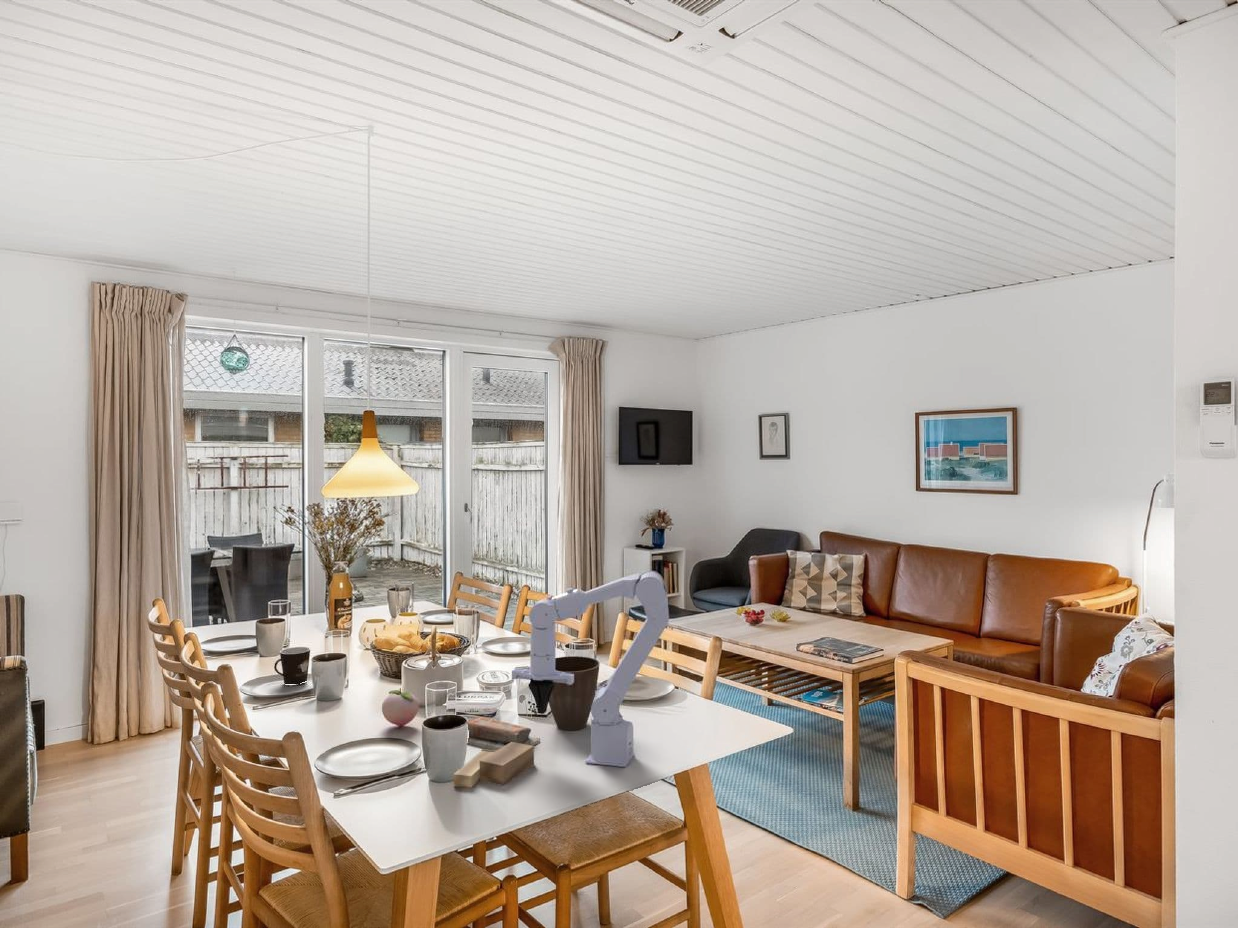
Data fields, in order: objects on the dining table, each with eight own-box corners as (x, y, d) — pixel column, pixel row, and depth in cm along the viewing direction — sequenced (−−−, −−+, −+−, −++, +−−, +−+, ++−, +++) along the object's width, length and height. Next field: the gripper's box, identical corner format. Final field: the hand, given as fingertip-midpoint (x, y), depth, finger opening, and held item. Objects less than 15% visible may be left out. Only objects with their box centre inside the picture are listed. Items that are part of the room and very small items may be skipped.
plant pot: (544, 738, 188) (544, 673, 188) (538, 718, 203) (538, 657, 203) (605, 733, 191) (604, 669, 191) (594, 713, 206) (594, 654, 206)
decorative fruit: (374, 729, 195) (373, 690, 195) (396, 719, 203) (396, 681, 202) (403, 735, 191) (402, 695, 191) (424, 724, 198) (424, 686, 198)
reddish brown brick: (456, 723, 187) (483, 711, 195) (456, 743, 187) (483, 730, 195) (515, 736, 178) (541, 723, 186) (515, 757, 178) (541, 743, 186)
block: (534, 765, 173) (533, 745, 172) (503, 786, 162) (502, 765, 162) (511, 761, 175) (511, 741, 175) (479, 781, 164) (479, 760, 164)
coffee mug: (304, 677, 242) (304, 645, 242) (315, 682, 236) (314, 650, 236) (265, 684, 234) (265, 651, 234) (275, 690, 228) (275, 657, 228)
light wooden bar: (499, 761, 174) (499, 750, 174) (471, 787, 161) (471, 775, 161) (483, 760, 175) (482, 748, 175) (453, 785, 162) (453, 773, 162)
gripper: (506, 654, 174) (505, 714, 174) (567, 660, 170) (566, 721, 171) (518, 647, 181) (518, 704, 181) (577, 652, 177) (576, 711, 177)
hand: (542, 712), depth 176 cm, fingers closed
